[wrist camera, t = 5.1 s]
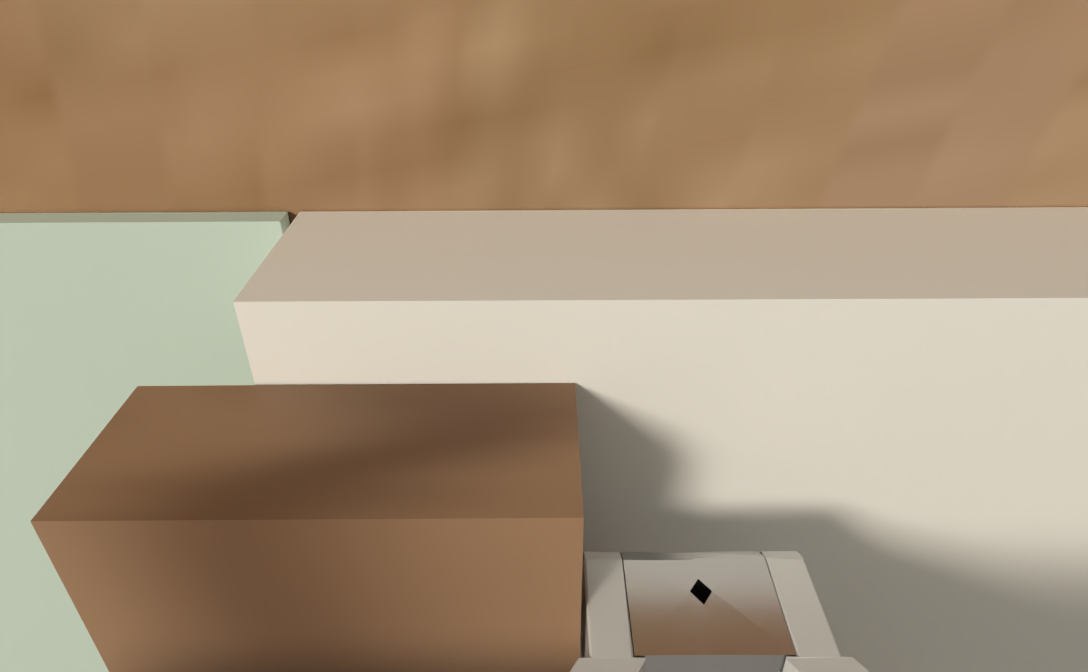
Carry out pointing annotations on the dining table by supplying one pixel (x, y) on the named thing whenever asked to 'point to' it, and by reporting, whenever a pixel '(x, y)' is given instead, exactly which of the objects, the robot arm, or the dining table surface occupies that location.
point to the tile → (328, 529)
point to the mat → (100, 371)
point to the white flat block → (759, 390)
